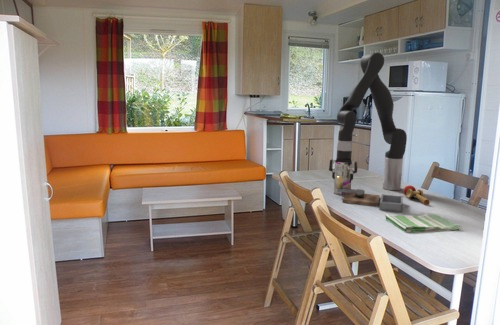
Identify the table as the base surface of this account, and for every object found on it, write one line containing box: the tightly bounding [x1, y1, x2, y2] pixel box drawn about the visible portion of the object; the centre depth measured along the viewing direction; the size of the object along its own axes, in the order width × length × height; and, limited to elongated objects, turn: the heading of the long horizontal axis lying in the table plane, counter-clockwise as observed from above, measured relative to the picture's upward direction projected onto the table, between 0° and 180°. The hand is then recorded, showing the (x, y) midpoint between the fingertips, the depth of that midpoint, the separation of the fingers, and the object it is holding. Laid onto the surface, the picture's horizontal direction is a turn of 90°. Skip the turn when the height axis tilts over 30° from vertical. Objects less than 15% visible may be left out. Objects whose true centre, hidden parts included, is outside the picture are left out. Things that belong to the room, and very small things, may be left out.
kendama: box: [403, 185, 431, 206], centre depth 199 cm, size 8×6×18 cm
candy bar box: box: [333, 162, 353, 196], centre depth 211 cm, size 11×5×16 cm, turn 143°
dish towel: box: [384, 213, 461, 233], centre depth 162 cm, size 18×23×3 cm
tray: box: [379, 193, 404, 213], centre depth 187 cm, size 10×16×4 cm, turn 159°
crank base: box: [342, 193, 381, 207], centre depth 197 cm, size 16×16×2 cm
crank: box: [336, 176, 365, 198], centre depth 198 cm, size 14×4×9 cm, turn 69°
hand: (342, 179), depth 211 cm, fingers open, 8 cm apart
